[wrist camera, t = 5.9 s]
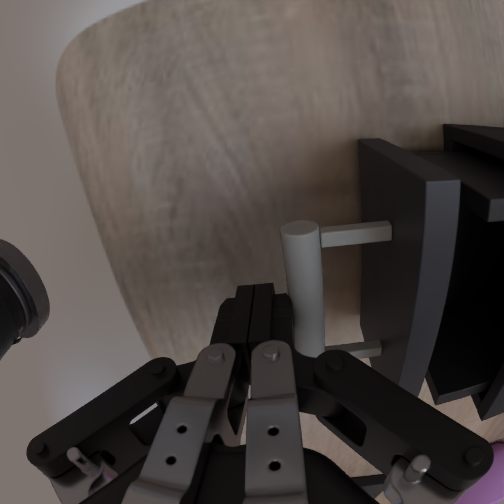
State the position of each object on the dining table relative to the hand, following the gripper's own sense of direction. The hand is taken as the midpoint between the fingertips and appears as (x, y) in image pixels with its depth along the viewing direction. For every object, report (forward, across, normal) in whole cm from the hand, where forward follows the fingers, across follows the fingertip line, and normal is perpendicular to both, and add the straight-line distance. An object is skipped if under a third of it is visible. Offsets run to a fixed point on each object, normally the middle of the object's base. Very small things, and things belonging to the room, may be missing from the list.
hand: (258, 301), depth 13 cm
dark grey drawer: (+4, -11, 0) cm, 11 cm away
